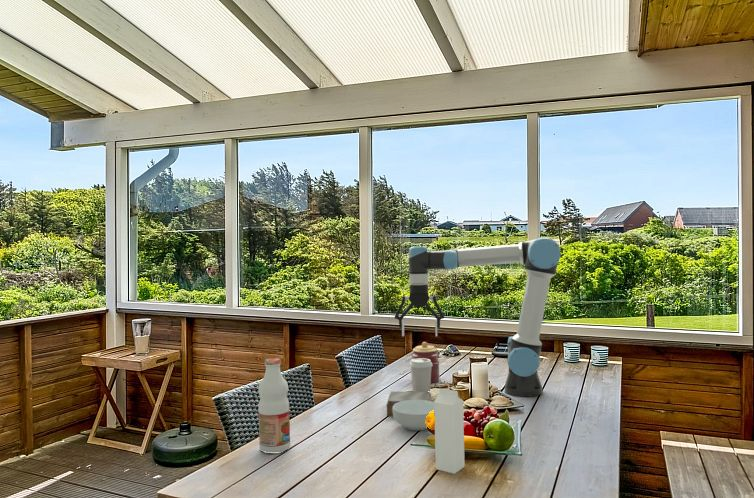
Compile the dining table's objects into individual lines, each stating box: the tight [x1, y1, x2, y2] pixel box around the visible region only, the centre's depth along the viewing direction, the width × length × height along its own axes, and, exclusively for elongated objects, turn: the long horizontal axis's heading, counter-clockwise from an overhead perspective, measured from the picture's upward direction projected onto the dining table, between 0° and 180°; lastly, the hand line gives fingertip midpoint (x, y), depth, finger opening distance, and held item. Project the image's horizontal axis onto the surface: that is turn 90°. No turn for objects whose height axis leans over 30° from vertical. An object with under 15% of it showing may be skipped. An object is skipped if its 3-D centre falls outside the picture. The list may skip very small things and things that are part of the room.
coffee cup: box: [409, 358, 433, 392], centre depth 226 cm, size 10×10×15 cm
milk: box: [433, 388, 466, 475], centre depth 154 cm, size 6×6×22 cm
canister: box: [410, 341, 440, 384], centre depth 253 cm, size 13×13×18 cm
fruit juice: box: [258, 357, 291, 453], centre depth 172 cm, size 9×9×28 cm
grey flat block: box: [386, 391, 432, 417], centre depth 209 cm, size 16×14×5 cm
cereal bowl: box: [392, 400, 434, 431], centre depth 190 cm, size 17×17×7 cm
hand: (419, 335), depth 226 cm, fingers open, 13 cm apart
